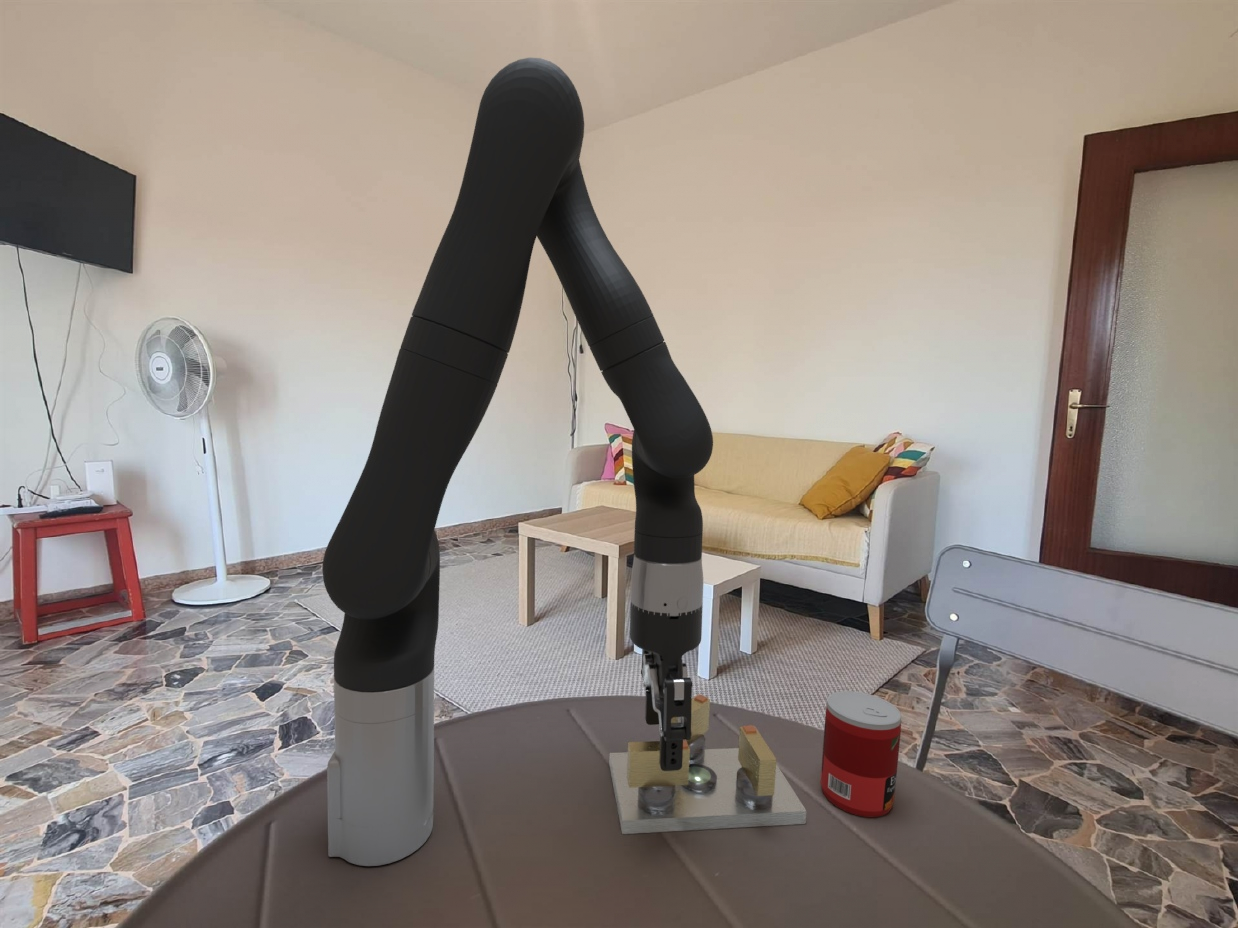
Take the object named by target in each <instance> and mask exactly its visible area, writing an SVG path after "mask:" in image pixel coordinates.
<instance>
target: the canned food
mask: <svg viewBox="0 0 1238 928" xmlns="http://www.w3.org/2000/svg"><path fill="white" fill-rule="evenodd" d="M826 699H827V700H826V703H825V704H826V705H825V706H826V707H825V715H824V716H825V717H824V729H823V730H824V731H823V742H822V744H823V745H822V746H823V747H822V757H821V759H822V760H821V773H820V785H821V790H822V792H823V794H824V796H825V797H826V799H827V800H828V801H829V802H830V803H831V804H833V805H834V806H836V807H837V808H838V809H840V810H843V811H844V812H846V813H849V814H852V815H854V816H858V817H865V818H877V817H880V816H884V815H886V814H888V813H889V812H890V811H891V809H892V807H893V805H894V802H895V797H896V796H895V795H896V787H897V786H896V785H897V774H898V764H899V763H898V762H899V755H900V754H899V753H900V743H901V733H902V713H901V712H900V710H899V709H898V707H897V706H895V705H894V704H893V703H891V702H889V701H887V700H886V699H884V698H881V697H879V696H876V695H873V694H869V693H866V692H862V691H861V692H860V691H854V690H853V691H851V690H845V691H843V690H842V691H837V692H833V693H831V694H830V695H828V697H827V698H826Z"/></svg>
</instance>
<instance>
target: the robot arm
mask: <svg viewBox="0 0 1238 928" xmlns="http://www.w3.org/2000/svg"><path fill="white" fill-rule="evenodd" d="M582 106H583V105H582V102H581V99H580V96H579V94H578V91H577V89H576V86H575V85H574V83H573V81H572V79H570V77H569V76H568V74H567V73H566V72H565V71H564V70H563V69H562V68H560V66H558V65H557V64H556V63H554V62H552V61H550V60H548V59H544V58H542V57H525V58H520V59H517V60H515V61H513V62H511V63H508V64H507V65H506V66H504V67H503V68H501V69H500V70H499V71H498V72H497V73H496V74H495V75H494V76H493V77H492V79H490V81H489V83H488V84H487V86H486V87H485V90H484V91H483V94H482V96H481V99H480V102H479V107H478V111H477V115H476V120H475V124H474V130H473V134H472V138H471V144H470V148H469V152H468V157H467V161H466V165H465V169H464V173H463V177H462V182H461V186H460V189H459V192H458V196H457V199H456V203H455V205H454V208H453V212H452V213H451V216H450V219H449V220H448V221H449V222H448V224H447V226H446V228H445V230H444V232H443V235H442V237H441V238H440V239H441V240H440V242H439V245H438V247H437V249H436V251H435V254H434V256H433V259H432V261H431V264H430V266H429V269H428V271H427V274H426V276H425V279H424V282H423V285H422V287H421V289H420V292H419V295H418V298H417V300H416V302H415V305H414V307H413V310H412V312H411V317H410V319H409V321H408V324H407V326H406V327H407V328H406V330H405V333H404V336H403V339H402V342H401V345H400V348H399V349H398V354H397V357H396V361H395V363H394V368H393V370H392V374H391V378H390V380H389V384H388V387H387V389H386V393H385V397H384V400H383V403H382V407H381V410H380V412H379V413H380V414H379V417H378V421H377V424H376V427H375V433H374V437H373V441H372V444H371V447H370V452H369V454H368V457H367V459H366V461H365V464H364V467H363V469H362V471H361V474H360V476H359V479H358V481H357V483H356V485H355V487H354V490H353V492H352V494H351V496H350V498H349V500H348V501H347V504H346V506H345V509H344V511H343V513H342V514H341V516H340V519H339V522H338V523H337V526H336V527H335V529H334V532H333V533H332V535H331V537H330V539H329V542H328V543H327V546H326V549H325V551H324V554H323V559H322V569H321V571H322V578H323V579H322V580H323V585H324V588H325V591H326V592H327V595H328V596H329V598H330V600H331V601H332V603H333V604H334V605H335V606H336V608H337V609H338V610H340V611H342V612H343V613H344V615H343V621H342V626H341V630H340V633H339V638H338V641H337V643H336V646H335V649H334V652H333V653H334V654H333V690H334V693H333V695H334V696H333V697H334V698H333V699H334V700H333V702H334V703H333V704H334V751H333V753H332V754H331V756H330V758H329V760H328V761H327V766H326V774H327V776H326V777H327V779H326V781H327V786H326V787H327V851H328V854H327V855H328V857H330V858H333V857H335V858H336V857H339V858H341V859H343V860H345V861H346V862H348V863H350V864H354V865H357V866H364V867H375V866H376V867H378V866H383V865H387V864H391V863H394V862H397V861H400V860H402V859H405V858H406V857H408V856H410V855H412V854H413V853H415V852H416V851H418V850H419V849H420V848H421V847H422V846H423V845H424V844H425V843H426V842H427V840H428V839H429V837H430V836H431V833H432V832H433V827H434V812H435V810H434V809H435V804H434V802H435V801H434V784H435V783H434V781H435V779H434V769H435V767H434V763H435V762H434V756H435V754H434V752H435V751H434V750H435V748H434V747H435V745H434V744H435V743H434V742H435V728H434V726H435V652H436V650H435V649H436V643H437V638H438V637H437V636H438V629H439V618H440V617H439V616H440V615H439V613H440V578H441V577H440V576H441V574H440V573H441V554H440V553H441V552H440V544H439V539H438V536H437V533H436V530H435V529H436V526H437V525H436V524H437V521H438V518H439V514H440V511H441V507H442V504H443V500H444V498H445V494H446V492H447V489H448V486H449V485H450V481H451V479H452V478H453V477H452V476H453V474H455V470H456V468H457V467H458V466H459V463H460V462H461V460H462V458H463V456H464V454H465V452H466V450H467V449H468V448H469V445H470V444H471V442H472V440H473V438H474V436H475V435H476V432H477V431H478V429H479V426H480V425H481V423H482V421H483V419H484V417H485V415H486V413H487V410H488V408H489V406H490V404H491V401H492V399H493V397H494V395H495V392H496V390H497V387H498V384H499V381H500V378H501V376H502V373H503V371H504V367H505V365H506V362H507V360H508V356H509V354H508V353H510V351H511V348H512V344H513V341H514V337H515V333H516V330H517V327H518V323H519V318H520V315H521V310H522V306H523V300H524V297H525V291H526V286H527V280H528V275H529V270H530V269H529V268H530V264H531V259H532V253H533V250H534V245H535V242H536V239H537V240H538V241H539V243H540V244H541V246H542V247H543V250H544V252H545V254H546V255H547V257H548V259H549V261H550V263H551V265H552V267H553V269H554V271H555V273H556V275H557V277H558V279H559V282H560V284H561V286H562V288H563V290H564V293H565V296H566V298H567V300H568V302H569V304H570V307H571V309H572V312H573V314H574V317H575V318H576V321H577V323H578V325H579V327H580V330H581V332H582V334H583V336H584V339H585V341H586V343H587V345H588V347H589V350H590V352H591V354H592V356H593V358H594V360H595V362H596V364H597V366H598V369H599V371H600V372H601V376H602V377H603V378H604V381H605V383H606V384H607V386H608V387H609V389H610V390H611V392H613V394H615V396H617V398H618V399H619V400H620V402H621V404H622V406H623V408H624V410H625V412H626V414H627V415H626V416H627V417H628V419H629V421H630V423H631V425H632V427H633V432H632V438H631V466H632V478H633V487H634V496H635V519H634V539H633V540H634V541H633V549H634V550H633V554H634V555H633V562H632V568H631V576H630V605H629V606H630V608H629V609H630V610H629V611H630V612H629V618H630V619H629V638H630V641H631V642H632V644H634V645H635V646H636V647H637V648H639V649H640V650H641V670H640V675H641V678H642V681H643V683H642V686H643V688H644V691H645V700H644V701H645V704H644V705H645V706H644V710H645V711H644V719H645V723H646V724H647V725H649V726H651V725H654V726H655V725H659V726H658V732H659V741H660V756H659V764H660V767H661V769H662V770H663V771H675V770H680V769H681V768H682V758H683V740H690V739H691V735H692V732H691V706H692V698H693V697H692V696H693V694H692V692H693V691H692V690H693V681H692V678H691V677H690V676H689V677H688V675H689V674H688V667H687V664H686V662H683V656H684V655H685V654H686V653H688V652H690V651H693V650H695V649H696V648H698V647H699V646H700V644H701V641H702V633H703V632H702V629H703V628H702V627H703V607H704V605H703V603H704V570H703V558H702V557H703V534H704V533H703V532H704V530H703V529H704V525H703V524H704V520H703V513H702V512H703V511H702V508H701V507H700V504H699V502H698V501H697V499H696V493H695V475H697V474H698V473H699V472H701V471H702V470H703V469H704V468H705V467H706V466H707V465H708V463H709V461H710V459H711V457H712V454H713V448H714V437H713V432H712V431H713V430H712V428H711V425H710V422H709V419H708V417H707V415H706V413H705V411H704V409H703V407H702V405H701V403H700V401H699V400H698V398H697V397H696V395H695V393H694V392H693V390H692V389H691V387H690V385H689V383H688V382H687V381H686V379H685V377H684V376H683V374H682V373H681V372H680V370H679V368H678V367H677V366H676V364H675V362H674V360H673V358H672V356H671V354H670V351H669V348H668V345H667V343H666V342H665V338H664V336H663V334H662V331H661V329H660V327H659V324H658V323H657V320H656V318H655V316H654V313H653V311H652V309H651V307H650V305H649V303H648V301H647V299H646V297H645V294H644V293H643V291H642V289H641V288H640V286H639V285H638V282H637V281H636V279H635V278H634V276H633V275H632V273H631V271H630V270H629V268H628V267H627V266H626V264H625V263H624V261H623V260H622V258H621V257H620V255H619V254H618V252H617V251H616V250H615V248H614V246H613V244H612V243H611V241H610V239H609V238H608V236H607V234H606V233H605V230H604V228H603V226H602V224H601V222H600V221H599V218H598V215H597V214H596V212H595V209H594V206H593V203H592V201H591V197H590V195H589V192H588V188H587V185H586V181H585V178H584V174H583V171H582V167H581V162H580V158H581V152H582V148H583V142H584V137H585V117H584V110H583V107H582ZM673 717H678V723H671V719H672V718H673Z"/></svg>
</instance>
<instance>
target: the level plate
mask: <svg viewBox="0 0 1238 928" xmlns="http://www.w3.org/2000/svg"><path fill="white" fill-rule="evenodd" d="M738 751H739V747H733V748H732V747H731V748H730V747H729V748H708V749H707V748H705V757H704V762H703V763H702V764H689V778H688V785H676V788H675V806H674V809H673V810H672V811H671V812H670V813H668V814H665V815H652V814H648V813H646V812H644V811H643V810H642V809H641V808H640V807H639V805H638V787H633V788H629V785H628V781H627V758H628V751H626V752H609V762H608V765H609V770H610V777H611V782H612V786H613V792H614V799H615V803H616V809H617V813H618V819H619V825H620V830H621V834H622V835H632V834H633V835H634V834H648V833H649V834H650V833H665V832H666V833H667V832H668V833H669V832H683V831H685V832H686V831H699V830H700V831H701V830H718V829H720V830H721V829H736V828H737V829H738V828H740V829H741V828H755V827H757V828H758V827H772V826H793V825H806V824H807V810H806V808H805V806H804V805H803V803H802V801H801V800H800V799H799V798H800V797H798V796H797V794H796V792H795V790H794V789H793V787H792V786H791V784H790V783H789V781H788V780H787V778H786V777H785V775H784V773H783V772H782V771H781V769H780V767H779V765H778V764H777V763H776V775H775V789H774V795H773V800H772V805H771V806H770V807H769V808H767V809H764V810H753V809H749V808H747V807H745V806H743V805H741V804H740V803H739V802H738V801H737V799H736V796H735V794H736V778H737V771H738V770H739V769H740V768H741V767H742V766H741V764H740V763H739V761H738Z"/></svg>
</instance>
